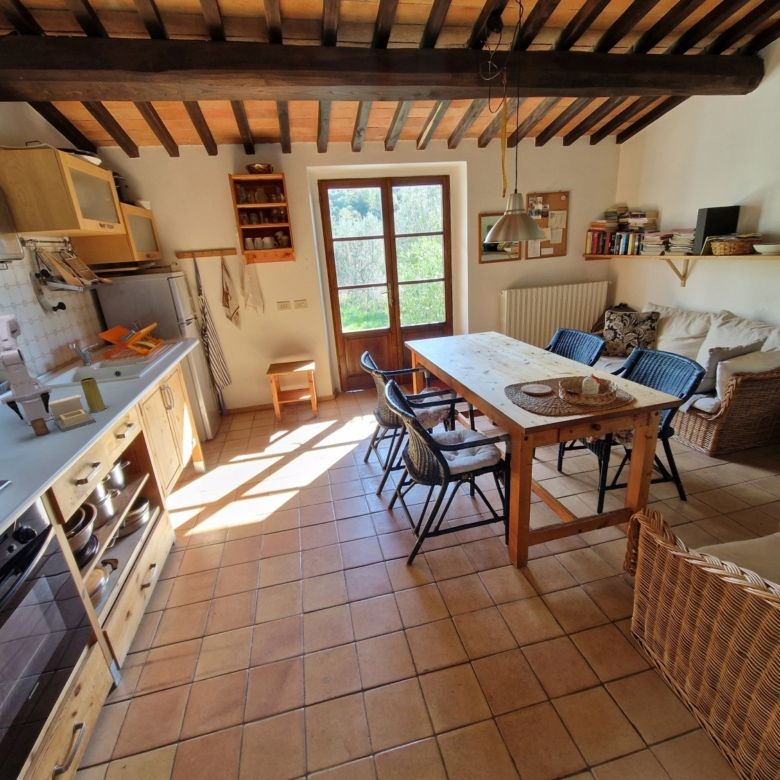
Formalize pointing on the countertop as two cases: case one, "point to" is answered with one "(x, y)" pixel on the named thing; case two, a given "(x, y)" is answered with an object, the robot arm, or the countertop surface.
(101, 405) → the vase
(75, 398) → the socket stand
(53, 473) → the countertop surface
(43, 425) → the peg
